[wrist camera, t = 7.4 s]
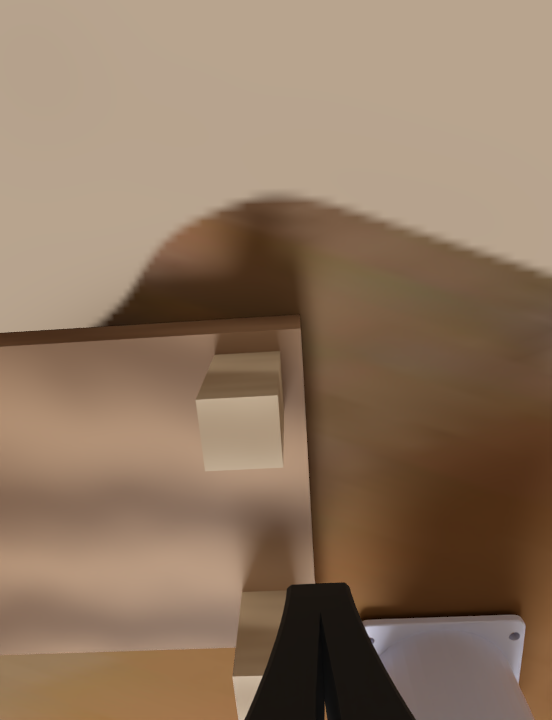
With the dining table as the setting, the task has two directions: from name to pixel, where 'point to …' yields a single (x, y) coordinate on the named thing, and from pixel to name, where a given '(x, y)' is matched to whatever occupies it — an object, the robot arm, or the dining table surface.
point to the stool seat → (153, 488)
